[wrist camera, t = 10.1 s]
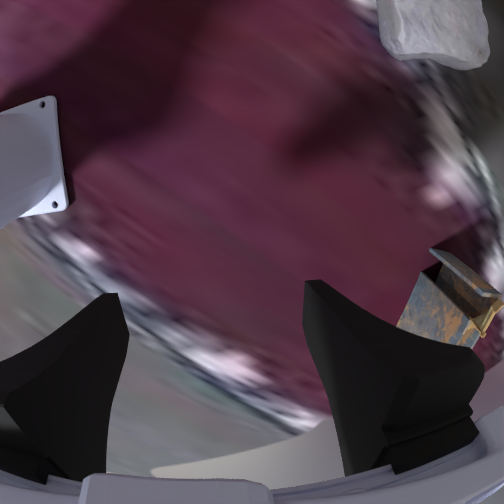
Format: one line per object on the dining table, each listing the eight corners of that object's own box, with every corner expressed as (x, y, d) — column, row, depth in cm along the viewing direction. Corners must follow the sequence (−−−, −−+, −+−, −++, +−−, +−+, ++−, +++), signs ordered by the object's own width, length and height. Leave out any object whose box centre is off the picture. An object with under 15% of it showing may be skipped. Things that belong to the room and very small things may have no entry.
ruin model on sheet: (423, 245, 24) (497, 308, 15) (447, 250, 24) (518, 309, 15) (375, 351, 28) (417, 427, 19) (399, 351, 29) (442, 421, 20)
